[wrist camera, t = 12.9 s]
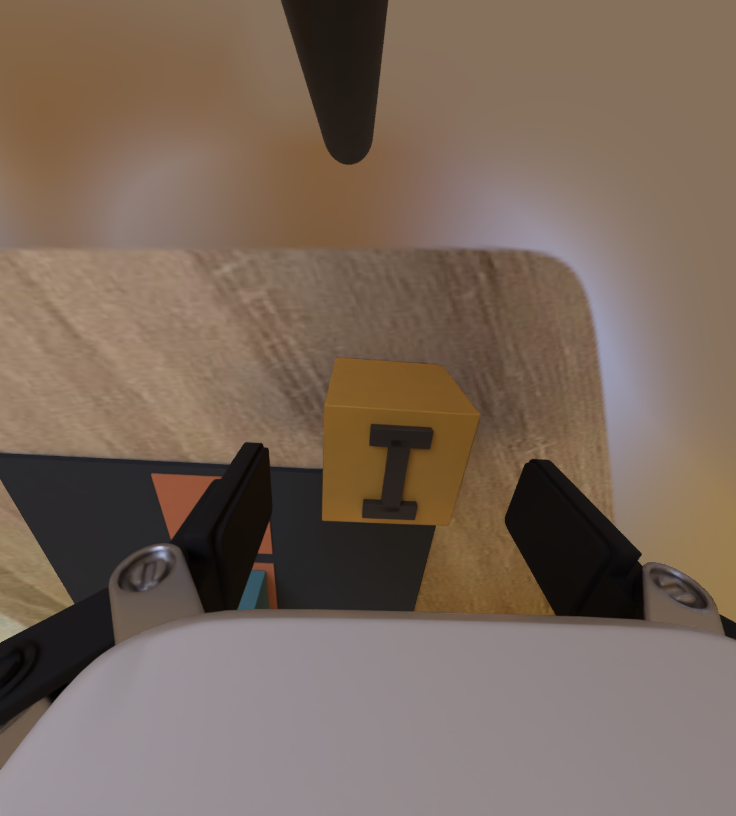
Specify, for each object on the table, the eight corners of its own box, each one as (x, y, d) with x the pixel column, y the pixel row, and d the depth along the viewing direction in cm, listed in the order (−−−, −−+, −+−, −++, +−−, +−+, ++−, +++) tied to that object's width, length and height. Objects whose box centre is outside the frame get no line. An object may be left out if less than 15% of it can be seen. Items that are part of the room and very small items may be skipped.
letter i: (335, 356, 14) (323, 409, 9) (442, 364, 14) (484, 419, 9) (332, 447, 16) (320, 527, 11) (424, 452, 16) (451, 532, 11)
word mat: (-5, 452, 16) (-16, 458, 15) (446, 475, 17) (448, 481, 17) (86, 610, 22) (80, 617, 21) (410, 617, 23) (411, 624, 23)
